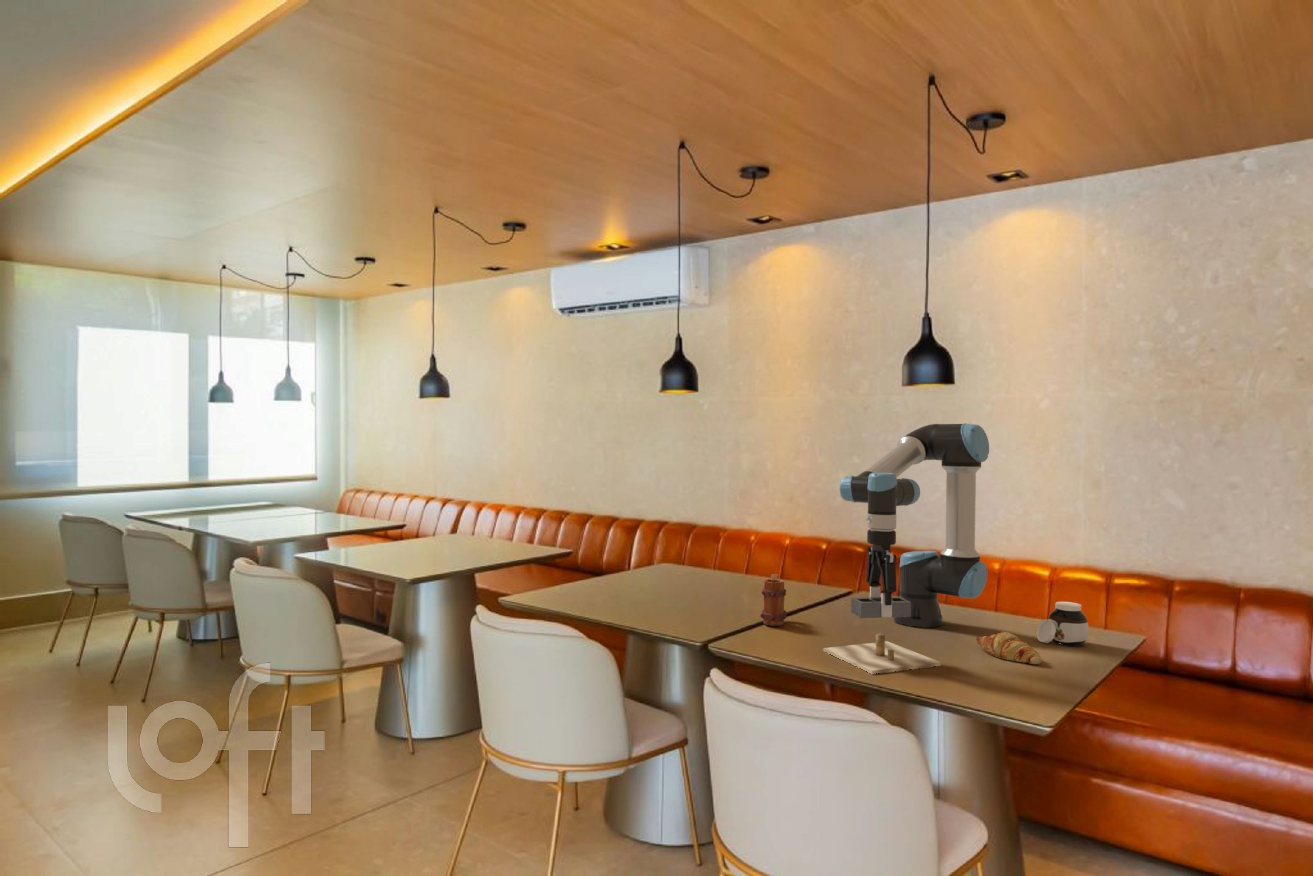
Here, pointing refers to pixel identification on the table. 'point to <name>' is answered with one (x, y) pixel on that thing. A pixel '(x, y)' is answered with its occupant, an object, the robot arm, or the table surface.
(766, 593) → the brown banded canister
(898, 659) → the mount board
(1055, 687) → the table surface
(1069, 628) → the spread jar
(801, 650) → the table surface
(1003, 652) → the croissant
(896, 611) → the grey compartment tray
